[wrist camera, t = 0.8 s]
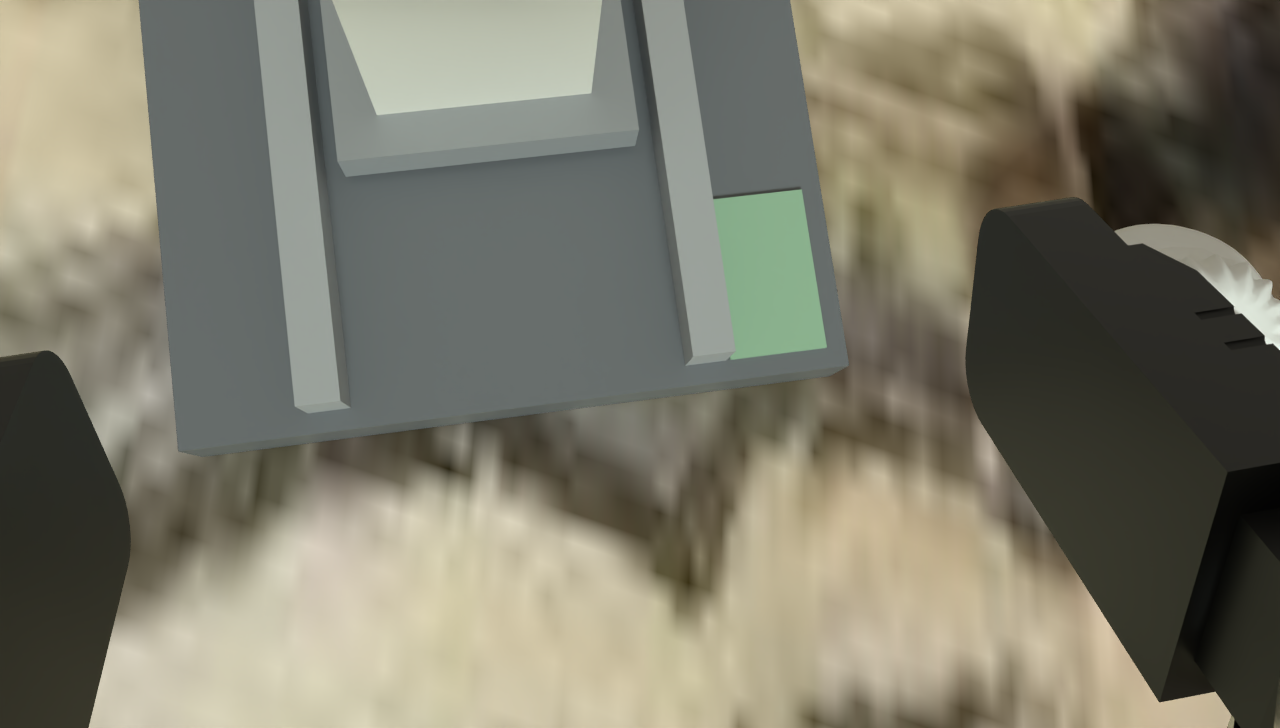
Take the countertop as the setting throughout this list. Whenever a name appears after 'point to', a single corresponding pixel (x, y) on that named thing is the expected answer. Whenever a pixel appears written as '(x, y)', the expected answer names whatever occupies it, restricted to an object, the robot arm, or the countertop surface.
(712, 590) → the countertop surface
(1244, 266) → the white rounded piece
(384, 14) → the lever
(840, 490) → the countertop surface
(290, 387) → the breaker panel
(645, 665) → the countertop surface
